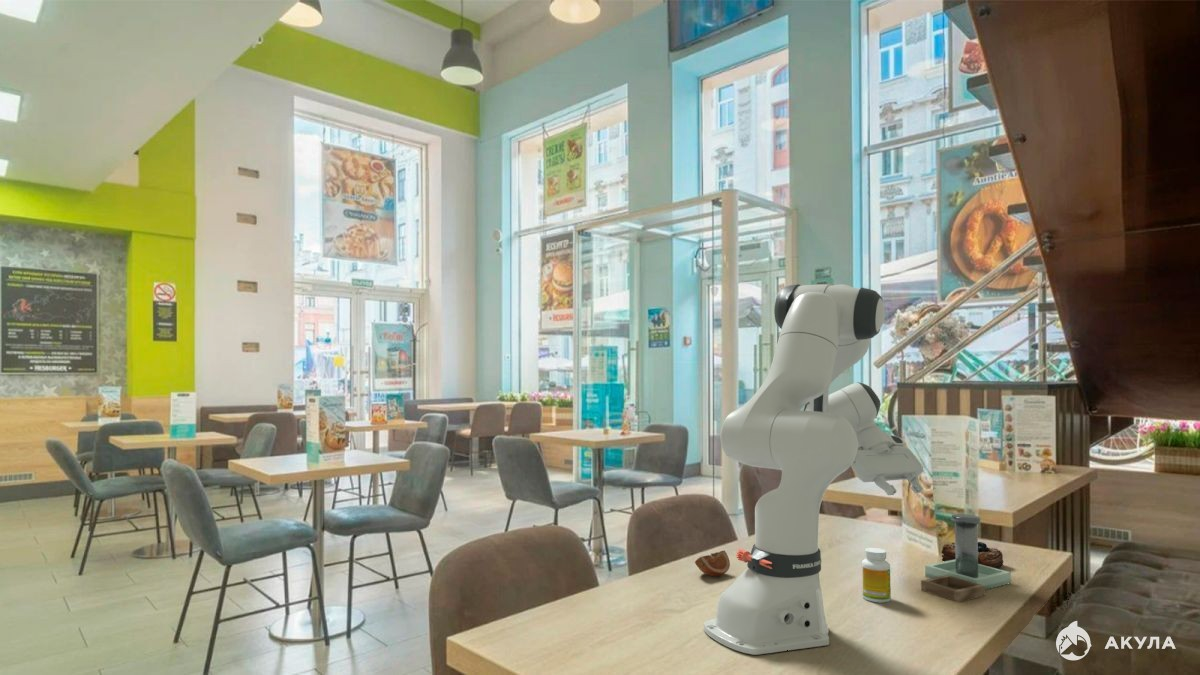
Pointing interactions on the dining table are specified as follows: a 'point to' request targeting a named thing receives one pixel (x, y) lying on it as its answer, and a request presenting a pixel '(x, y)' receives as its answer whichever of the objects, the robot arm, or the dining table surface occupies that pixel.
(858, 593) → the dining table surface
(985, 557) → the pastry
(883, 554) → the supplement bottle
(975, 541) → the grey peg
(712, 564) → the fruit slice
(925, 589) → the socket block
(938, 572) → the tray
